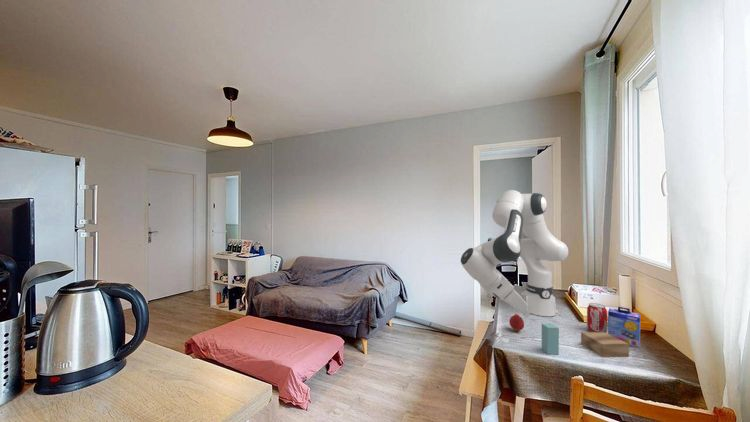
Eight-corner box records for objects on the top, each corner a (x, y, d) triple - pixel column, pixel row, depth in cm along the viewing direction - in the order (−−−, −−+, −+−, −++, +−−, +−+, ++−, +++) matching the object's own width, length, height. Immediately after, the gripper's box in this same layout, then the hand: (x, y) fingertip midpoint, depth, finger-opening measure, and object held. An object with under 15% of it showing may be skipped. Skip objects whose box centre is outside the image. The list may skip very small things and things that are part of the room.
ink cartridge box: (607, 339, 115) (607, 305, 115) (608, 335, 118) (608, 302, 119) (640, 348, 107) (640, 311, 108) (640, 343, 111) (640, 308, 111)
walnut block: (581, 344, 110) (581, 332, 110) (604, 344, 111) (605, 332, 111) (602, 357, 100) (602, 344, 100) (628, 357, 101) (628, 344, 101)
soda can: (611, 336, 118) (611, 308, 118) (592, 334, 119) (592, 307, 119) (601, 329, 125) (601, 303, 125) (583, 328, 126) (583, 301, 126)
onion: (523, 330, 123) (523, 312, 123) (524, 335, 118) (524, 316, 118) (509, 327, 126) (509, 310, 126) (509, 332, 120) (509, 314, 120)
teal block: (541, 349, 106) (541, 323, 106) (552, 349, 105) (552, 323, 106) (547, 354, 102) (547, 327, 102) (558, 355, 101) (558, 328, 102)
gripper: (480, 283, 115) (504, 307, 114) (500, 298, 94) (529, 327, 94) (491, 272, 115) (515, 296, 114) (513, 285, 94) (542, 314, 94)
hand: (521, 310), depth 104 cm, fingers open, 8 cm apart
